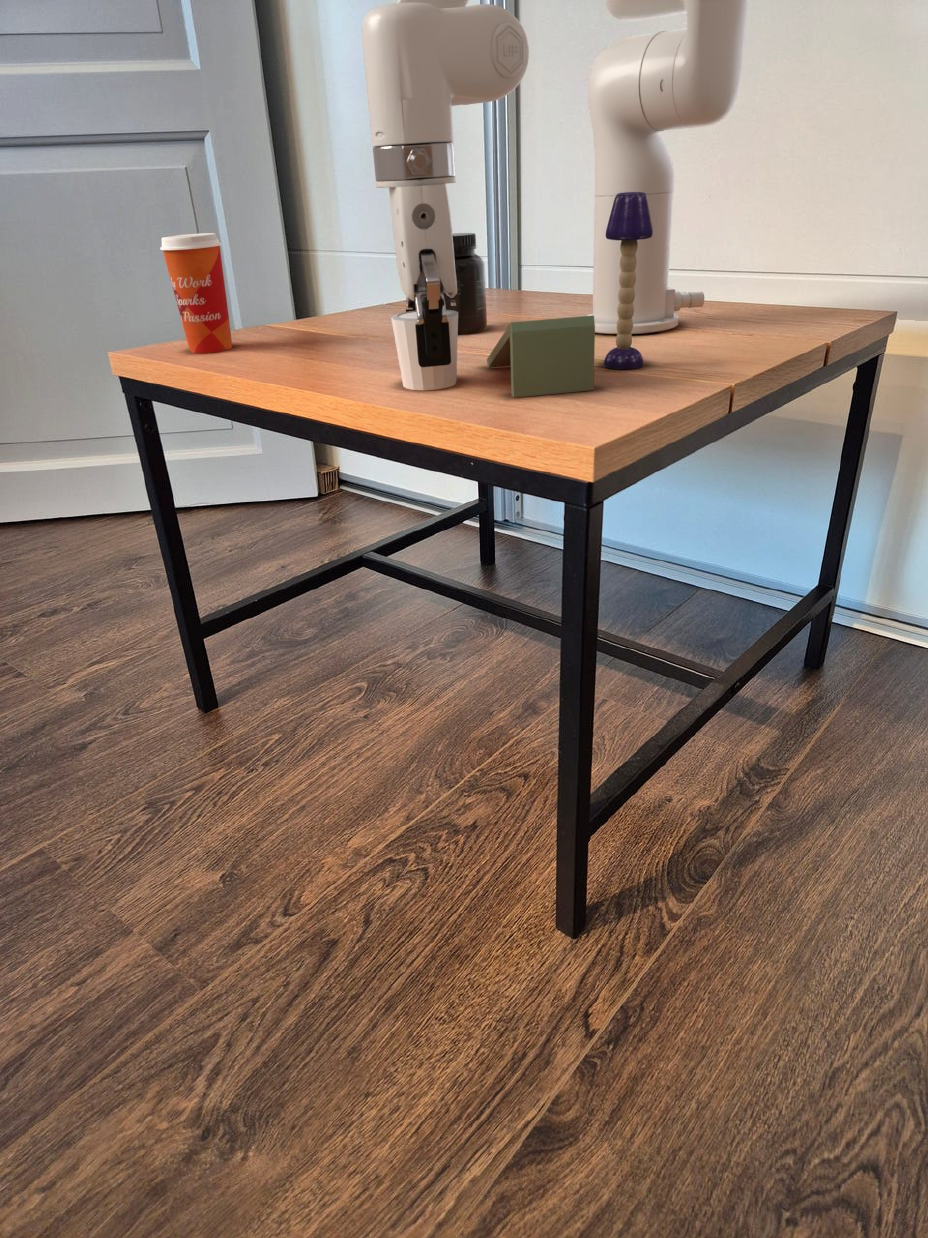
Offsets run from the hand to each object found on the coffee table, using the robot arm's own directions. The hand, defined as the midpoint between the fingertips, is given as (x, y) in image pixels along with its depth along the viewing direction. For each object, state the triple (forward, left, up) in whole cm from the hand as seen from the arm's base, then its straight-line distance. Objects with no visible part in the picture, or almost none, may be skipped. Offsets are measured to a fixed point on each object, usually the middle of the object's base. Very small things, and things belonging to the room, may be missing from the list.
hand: (429, 355), depth 86 cm
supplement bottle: (-8, -30, -3) cm, 31 cm away
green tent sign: (-11, +2, -3) cm, 11 cm away
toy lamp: (-21, 0, -3) cm, 21 cm away
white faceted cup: (0, 0, -3) cm, 3 cm away
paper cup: (+26, -32, -3) cm, 41 cm away
